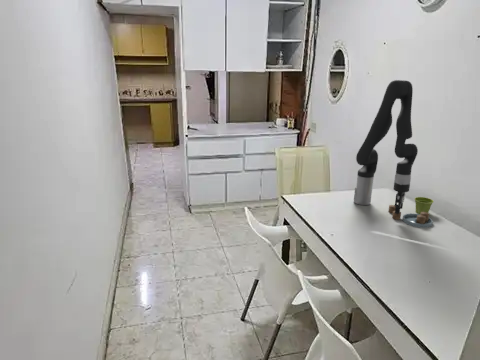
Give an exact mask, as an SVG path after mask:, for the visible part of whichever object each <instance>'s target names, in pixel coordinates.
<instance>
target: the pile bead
mask: <svg viewBox="0 0 480 360" xmlns="http://www.w3.org/2000/svg"><path fill="white" fill-rule="evenodd" d="M393 211H395V204H389V206H388V213H390V214H393Z"/></svg>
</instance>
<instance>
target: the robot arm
mask: <svg viewBox="0 0 480 360" xmlns="http://www.w3.org/2000/svg"><path fill="white" fill-rule="evenodd" d="M413 93H414V92H413V84H412V82H410V81H408V80H401V79H398V80H397V79H396V80H395V79H394V80H392V81H391V82H389V83H388V85H387V87H386V89H385V93H384V95H383V98H382V100H381V104H380V106H379V108H378V111H377V113H376V115H375V117H374V120H373V121H372V124H371V126H370V128H369V131H368V133H367V135H366V137H365V139H364V141H363V143H362V144H361V146H360V148H359V149H358V151H357V152H356V155H355V156H356V157H355V160H356V163H357V164H358V165H359V166H362V167H361V168H359V169H358V170H357V176H356V185H355V188H354V194H353V195H354V196H353V203H355V204H357V205H361V206H369V205H371V202H372V193H373V186H374V178H375V173H376V172H377V167H378V162H379V153H378V152H377V150H376V149H375V147H376V146H377V145H378V144H379V143H380V141H382V140H384V137H386V136H387V134H388V133H389V130H391V126H392V125H393V114H392V112H393V111H392V109H393V106H394V105H395V102H396V100H400V111H399V114H398V115H397V118H396V123H395V127H396V140H395V146H394V154H395V156H396V157H397V158H399V159H403V160H402V161H399V162H397V163H396V170H395V175H394V182H393V190H394V192H396V194H395V200H394V201H395V202H394V205H395V213H396V214H399V213H400V212H401V209H403V205H404V202H405V199H406V198H405V197H406V193H408V192H410V188H411V179H412V168H413V165H414V163H415V160H416V158H417V156H418V146H417V144H415V143H406V141H407V140H409V139H411V138H412V137H413V128H412V127H413V126H412V108H413V107H412V106H413V105H412V103H413Z"/></svg>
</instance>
